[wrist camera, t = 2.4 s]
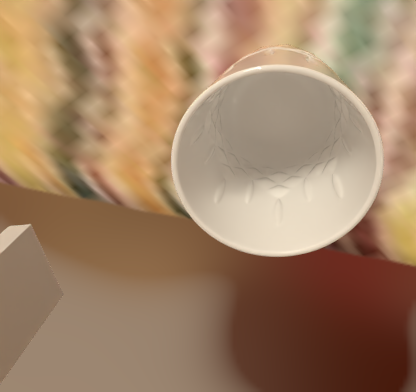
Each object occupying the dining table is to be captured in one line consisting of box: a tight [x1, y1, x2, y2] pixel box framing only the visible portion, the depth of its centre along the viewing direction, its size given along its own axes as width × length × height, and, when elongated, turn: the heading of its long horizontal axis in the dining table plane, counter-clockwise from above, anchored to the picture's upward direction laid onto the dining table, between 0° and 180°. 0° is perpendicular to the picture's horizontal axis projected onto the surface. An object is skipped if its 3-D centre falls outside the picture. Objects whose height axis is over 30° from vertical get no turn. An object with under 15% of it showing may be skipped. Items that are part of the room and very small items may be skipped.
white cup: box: [171, 44, 384, 257], centre depth 19 cm, size 8×8×10 cm
